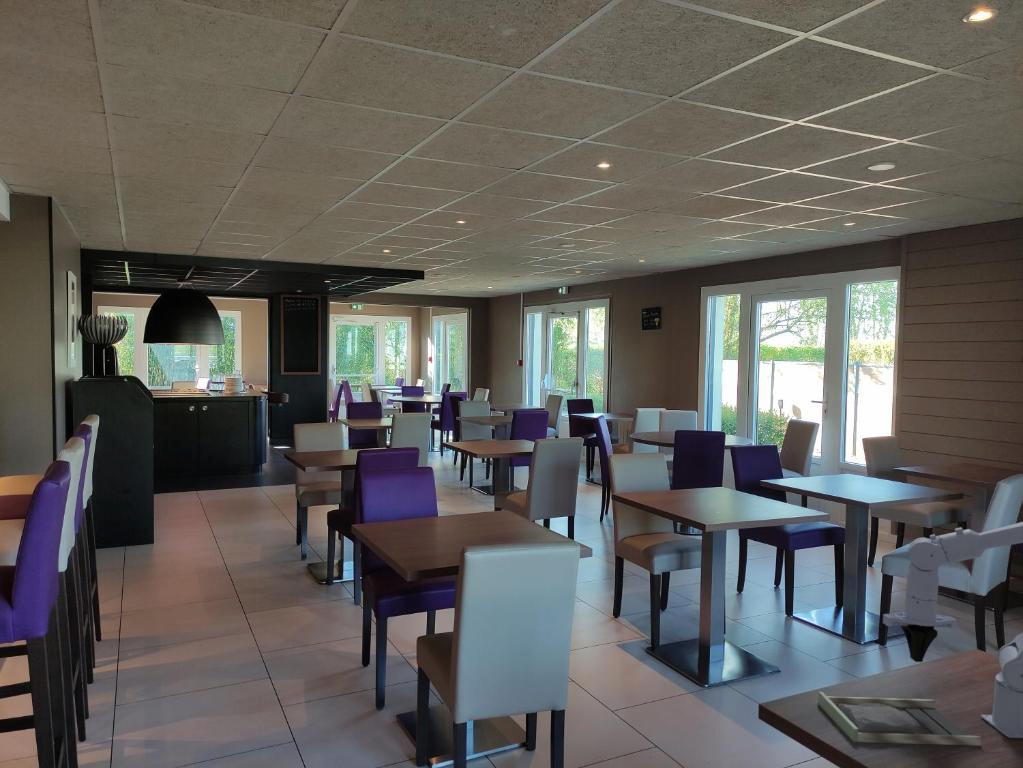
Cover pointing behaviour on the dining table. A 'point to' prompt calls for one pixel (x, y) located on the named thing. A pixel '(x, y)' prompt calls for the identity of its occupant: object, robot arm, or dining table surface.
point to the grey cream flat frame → (905, 737)
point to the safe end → (838, 717)
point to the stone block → (877, 718)
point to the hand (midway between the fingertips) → (916, 659)
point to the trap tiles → (938, 718)
